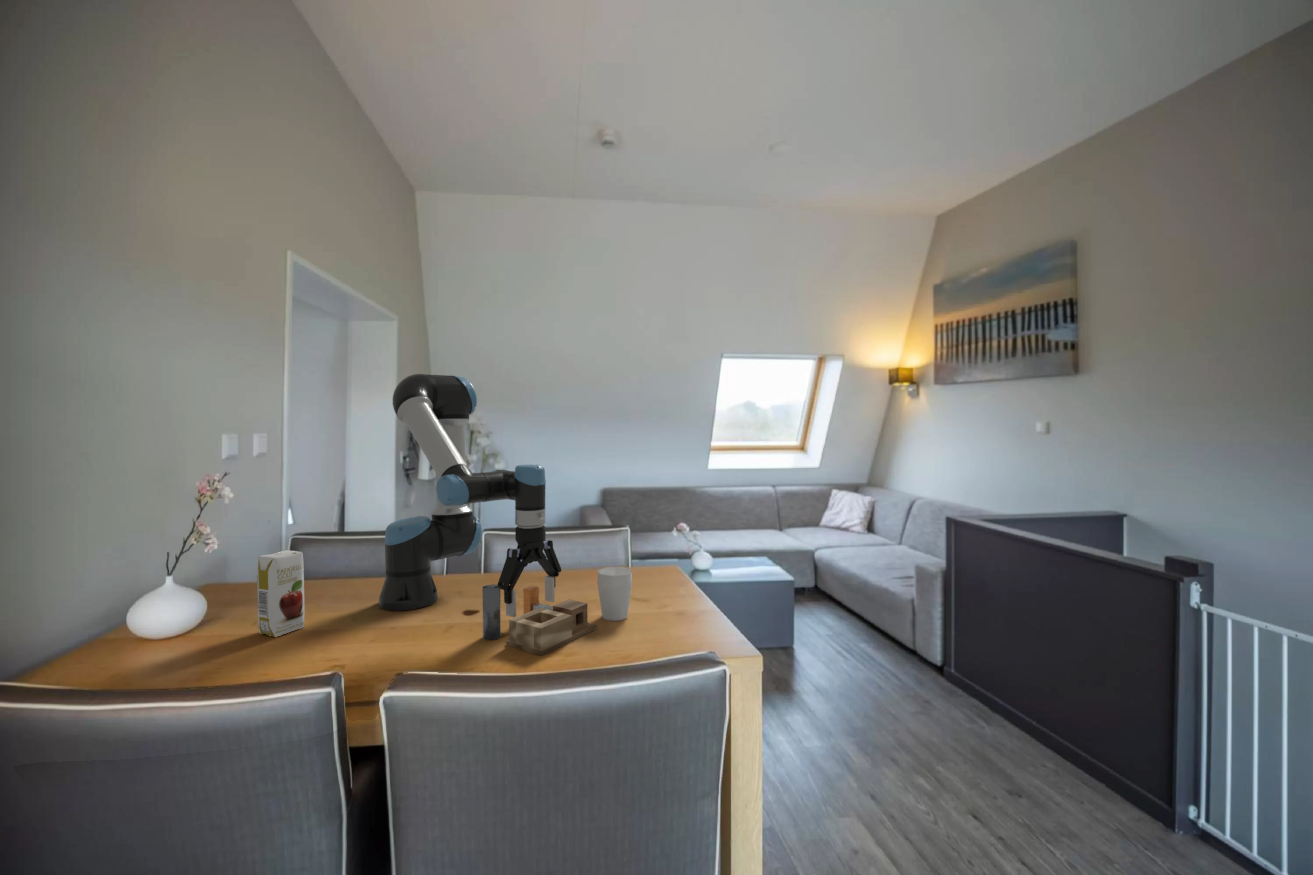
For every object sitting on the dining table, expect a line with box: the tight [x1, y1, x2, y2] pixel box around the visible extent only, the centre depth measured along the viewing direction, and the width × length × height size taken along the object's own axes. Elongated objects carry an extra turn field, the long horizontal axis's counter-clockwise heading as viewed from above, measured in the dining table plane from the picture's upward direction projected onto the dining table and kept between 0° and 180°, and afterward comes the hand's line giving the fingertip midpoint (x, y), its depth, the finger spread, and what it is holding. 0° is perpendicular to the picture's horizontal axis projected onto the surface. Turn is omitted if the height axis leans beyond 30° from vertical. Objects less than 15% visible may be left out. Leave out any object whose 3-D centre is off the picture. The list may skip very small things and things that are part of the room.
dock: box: [505, 598, 597, 656], centre depth 135 cm, size 11×19×6 cm, turn 147°
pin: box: [522, 585, 553, 614], centre depth 142 cm, size 14×3×8 cm, turn 57°
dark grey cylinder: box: [482, 583, 502, 641], centre depth 134 cm, size 4×4×12 cm
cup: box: [596, 566, 633, 622], centre depth 148 cm, size 9×9×12 cm
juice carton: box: [256, 549, 306, 637], centre depth 138 cm, size 8×9×19 cm
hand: (531, 608), depth 145 cm, fingers open, 13 cm apart
